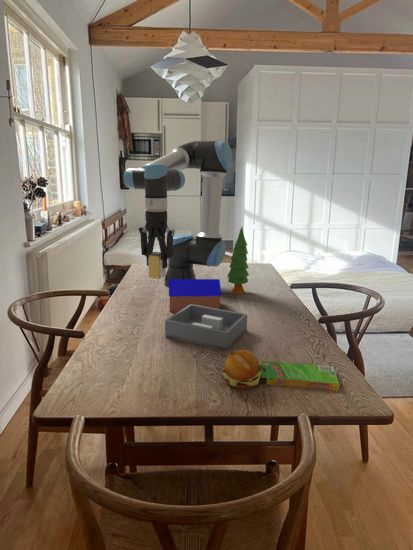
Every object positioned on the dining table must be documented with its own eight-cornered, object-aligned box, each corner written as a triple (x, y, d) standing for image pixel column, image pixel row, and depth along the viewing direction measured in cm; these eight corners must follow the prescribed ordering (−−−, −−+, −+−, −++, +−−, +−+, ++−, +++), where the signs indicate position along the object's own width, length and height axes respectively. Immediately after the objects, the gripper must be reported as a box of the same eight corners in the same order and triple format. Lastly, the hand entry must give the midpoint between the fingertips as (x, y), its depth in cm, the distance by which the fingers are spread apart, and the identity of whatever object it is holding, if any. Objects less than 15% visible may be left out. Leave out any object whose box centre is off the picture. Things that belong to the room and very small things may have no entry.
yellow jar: (149, 277, 148) (148, 253, 146) (155, 274, 151) (154, 251, 149) (158, 278, 146) (158, 254, 144) (164, 276, 150) (164, 252, 147)
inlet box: (165, 337, 137) (165, 320, 136) (190, 319, 153) (190, 303, 151) (226, 350, 128) (227, 332, 127) (246, 330, 144) (247, 314, 142)
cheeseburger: (265, 374, 115) (266, 345, 110) (256, 402, 106) (257, 372, 101) (229, 367, 118) (229, 339, 113) (218, 394, 109) (217, 365, 104)
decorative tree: (241, 296, 180) (244, 227, 172) (222, 293, 184) (224, 225, 176) (250, 291, 188) (254, 225, 180) (231, 287, 192) (234, 223, 184)
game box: (338, 394, 108) (259, 384, 110) (332, 376, 117) (259, 366, 119) (339, 383, 107) (260, 373, 109) (333, 366, 116) (260, 357, 119)
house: (169, 302, 171) (168, 275, 168) (217, 302, 173) (218, 275, 170) (168, 312, 160) (168, 283, 157) (220, 312, 162) (221, 283, 158)
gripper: (129, 209, 143) (131, 275, 149) (172, 213, 136) (172, 281, 142) (141, 207, 149) (143, 270, 156) (183, 210, 142) (183, 276, 149)
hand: (157, 275), depth 149 cm, fingers closed on yellow jar, 4 cm apart
